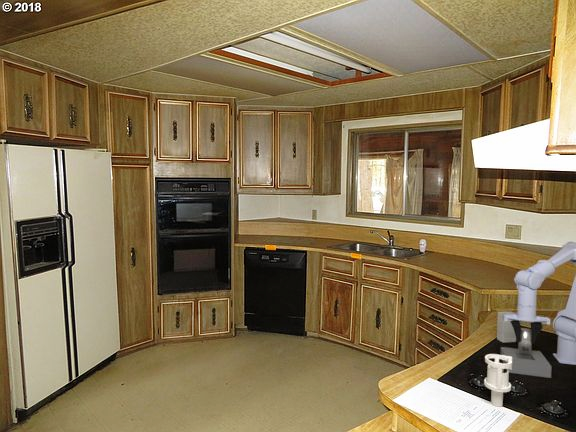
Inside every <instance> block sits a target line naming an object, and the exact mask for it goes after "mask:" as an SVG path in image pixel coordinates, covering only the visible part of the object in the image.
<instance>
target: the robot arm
mask: <svg viewBox="0 0 576 432" xmlns="http://www.w3.org/2000/svg"><path fill="white" fill-rule="evenodd" d="M567 262H571V264H573V265H574V266H575V267H576V242H575V241H567V242H566V243H565V244H562V246H561V249H560V250H559V251H558V252H557V253H555V254H554V255H552V256H551V257H550V258H549V259H547V260H546V259H542V260H541V259H539V260H538V261H537V262H536V263H535V264H533V265H532V266H530V267H528V268H527V269H526V270H525V269H522V270H519V271H518V272H517V273H516V274H515V277H514V280H513V281H514V283H515V285H516V290H517V304H516V305H517V308H516V309H517V310H516V313H515V314H508V315H507V314H503V320H504V321H510V322H511V324H512V326H513V329H514V332H515V335H516V342H517V343H519V342H520V331H521V328H522V325H521V323H529V324H530V330H532V344H533V345H534V344H535V343H536V339H537V337H538V335H539V333H540V332H541V331H542V329H543V327H544V326H543V325H545V324H546V325H549V326H550V325H551V318H550V317H547V316H545V317H544V316H539V315H537V302H538V301H537V295H538V294H537V293H538V289H540V287H541V286H542V283H543V282H544V281H545V280H547V278H549V277H550V276H551V275H554V273H555V272H556V269H557V268H558V267H560V266H562V265H564V264H566V263H567ZM572 282H573V283H572V286H571V289H570V293H569V296H568V299H567V303H566V306H565V308H564V309H562V310H559V311H557V314H556V317H555V318H554V319H553V321H552V328H553V330H554V331H555V334H556V335H557V346H556V348H557V350H556V353H552V355H553V357H554V358H555V359H556V360H557V361H558V363H559V364H564V365H565V364H567V365H572V366H573V365H575V366H576V274H575V276H574V279H573V281H572Z"/></svg>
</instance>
